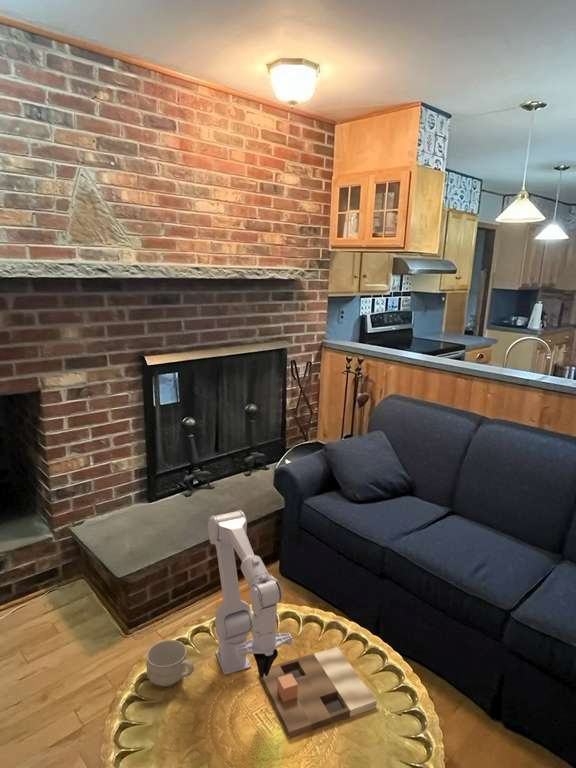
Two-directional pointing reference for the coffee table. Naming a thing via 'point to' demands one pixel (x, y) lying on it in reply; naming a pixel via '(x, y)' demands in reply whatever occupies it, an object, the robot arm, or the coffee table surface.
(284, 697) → the block
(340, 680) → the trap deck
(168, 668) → the teacup
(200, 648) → the coffee table surface
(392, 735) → the coffee table surface
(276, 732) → the coffee table surface
